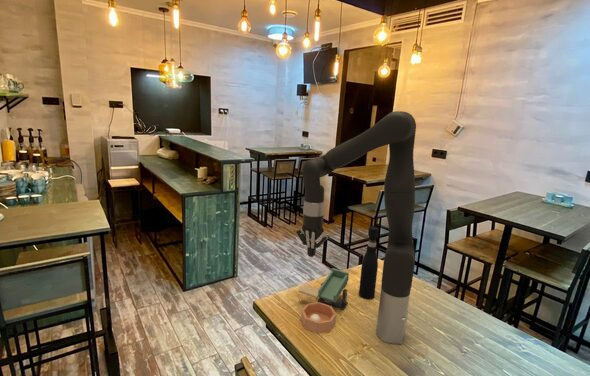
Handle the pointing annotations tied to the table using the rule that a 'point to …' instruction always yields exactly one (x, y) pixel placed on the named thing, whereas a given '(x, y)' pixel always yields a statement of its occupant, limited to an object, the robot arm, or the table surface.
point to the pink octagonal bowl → (324, 313)
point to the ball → (315, 317)
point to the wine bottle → (369, 267)
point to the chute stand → (339, 303)
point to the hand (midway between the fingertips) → (311, 256)
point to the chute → (328, 286)
